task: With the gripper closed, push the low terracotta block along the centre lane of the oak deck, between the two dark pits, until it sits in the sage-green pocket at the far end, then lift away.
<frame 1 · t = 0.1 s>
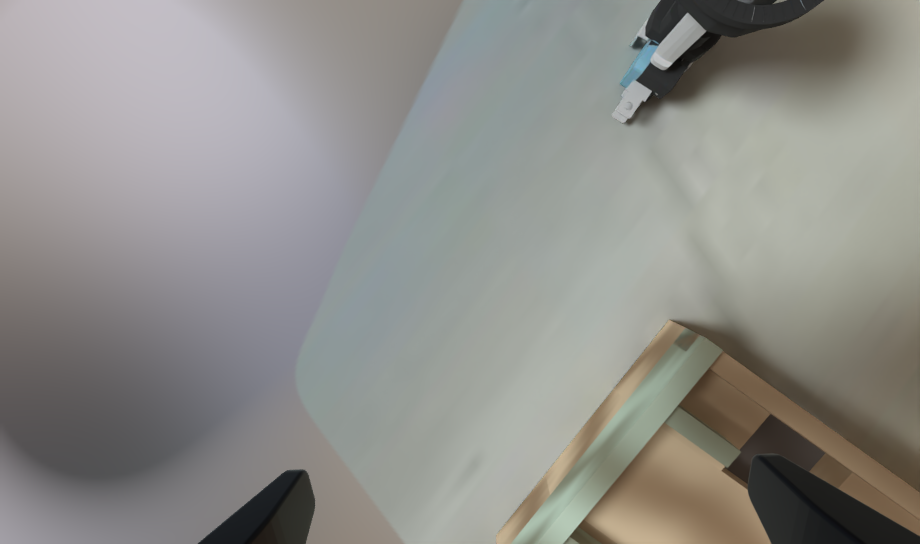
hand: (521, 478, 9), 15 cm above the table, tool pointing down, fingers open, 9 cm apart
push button: (648, 67, 22), on the table
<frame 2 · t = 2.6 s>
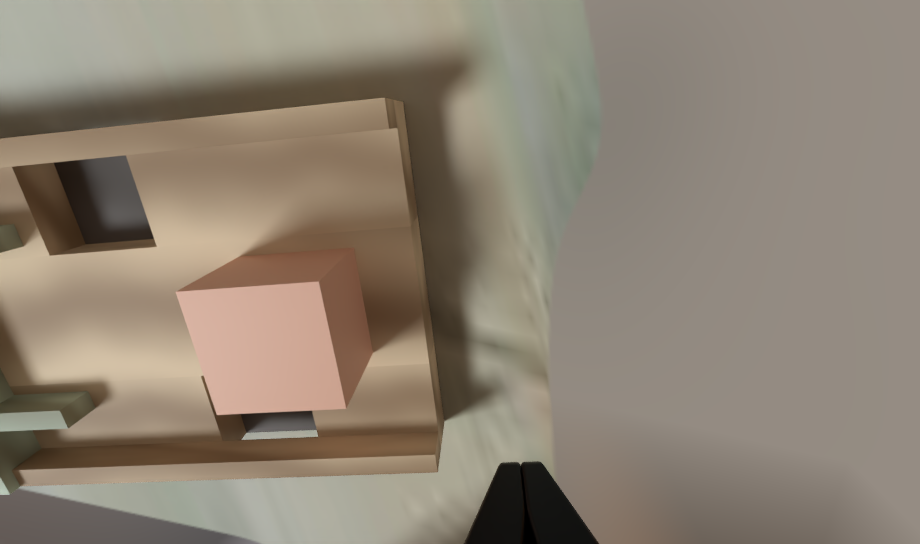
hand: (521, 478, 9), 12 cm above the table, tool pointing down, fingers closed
deck: (207, 297, 21), on the table
block: (308, 306, 19), point 2 cm above the table, touching deck
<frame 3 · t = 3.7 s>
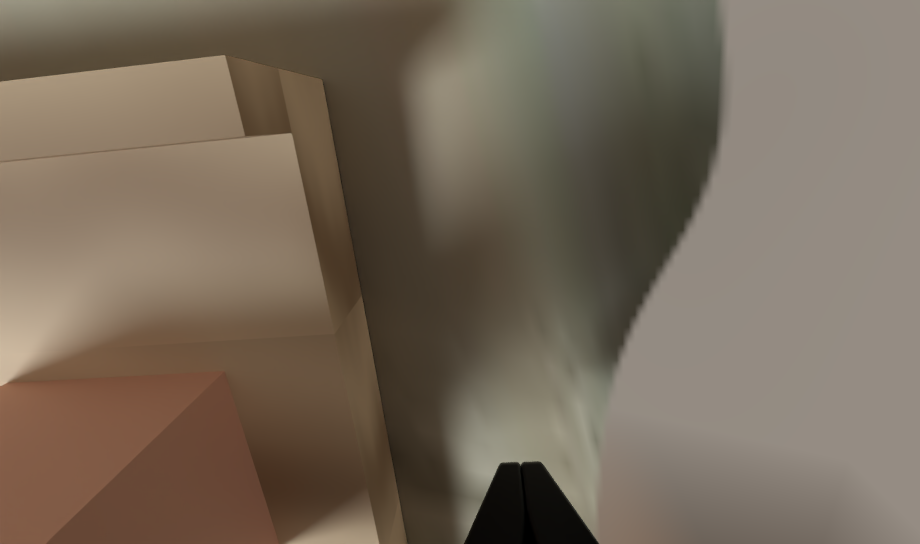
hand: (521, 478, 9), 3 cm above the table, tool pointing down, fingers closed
deck: (7, 423, 12), on the table
block: (151, 469, 10), point 2 cm above the table, touching deck
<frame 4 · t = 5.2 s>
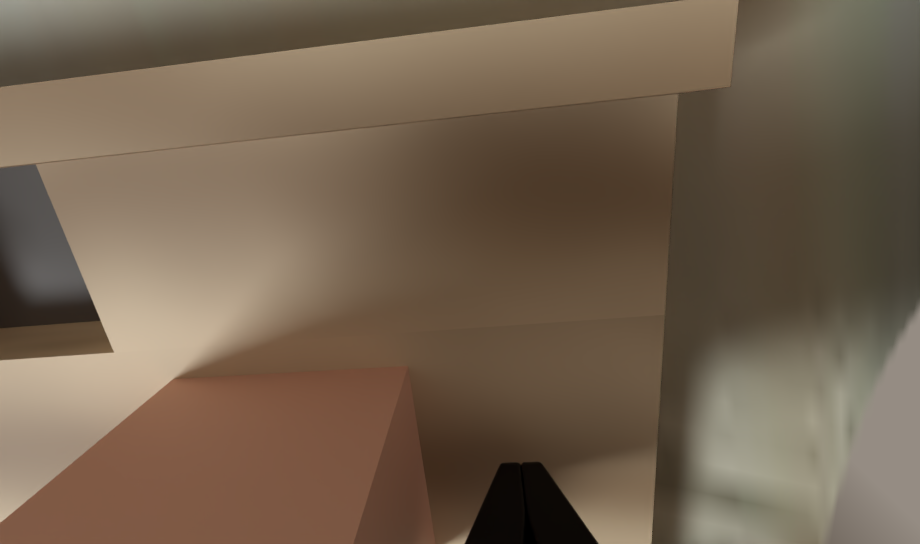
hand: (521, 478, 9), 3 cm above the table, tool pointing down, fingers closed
deck: (215, 417, 12), on the table
block: (313, 468, 10), point 2 cm above the table, touching deck, gripper
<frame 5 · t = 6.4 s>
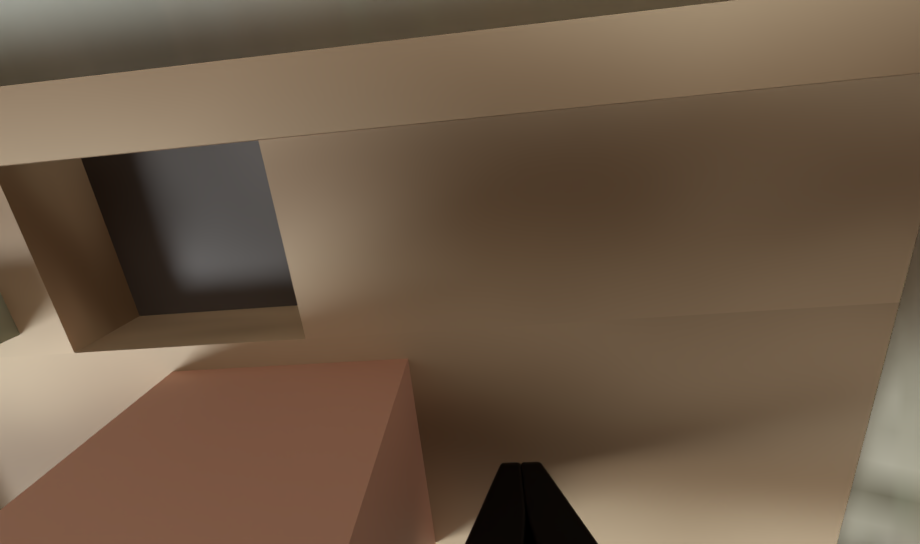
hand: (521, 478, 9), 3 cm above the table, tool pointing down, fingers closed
deck: (360, 409, 11), on the table
block: (312, 462, 10), point 2 cm above the table, touching deck, gripper
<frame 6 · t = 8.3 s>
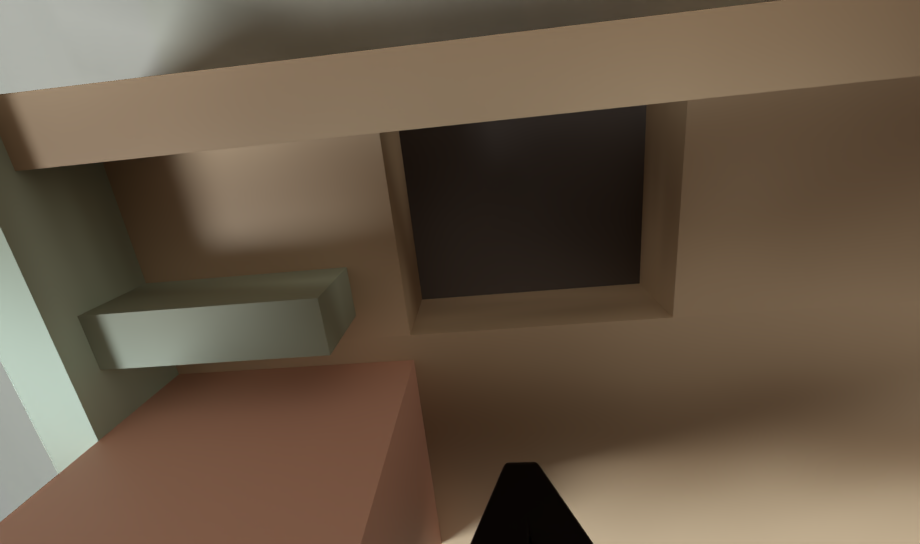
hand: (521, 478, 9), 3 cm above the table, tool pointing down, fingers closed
deck: (632, 397, 11), on the table
block: (318, 464, 10), point 2 cm above the table, touching deck, gripper
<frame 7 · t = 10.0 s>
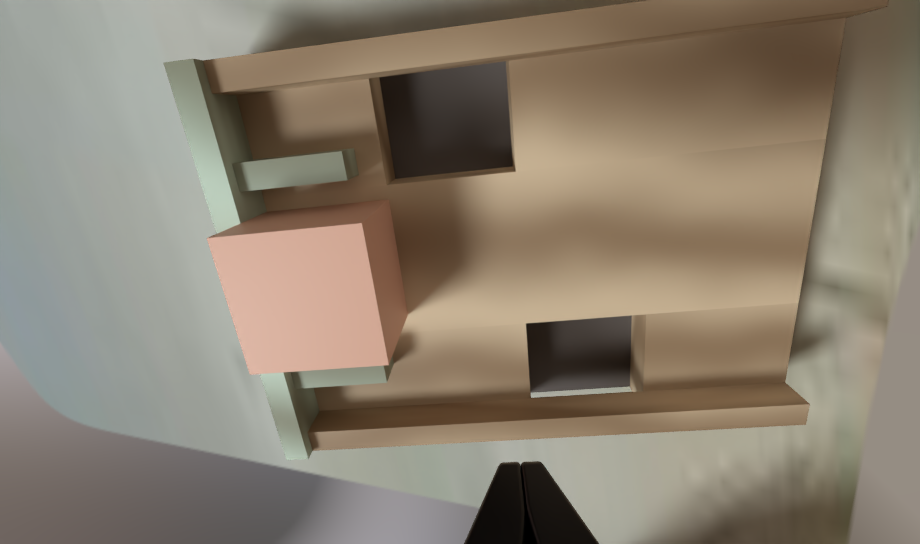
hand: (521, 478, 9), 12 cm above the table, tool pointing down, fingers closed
deck: (517, 238, 19), on the table
block: (339, 264, 18), point 2 cm above the table, touching deck
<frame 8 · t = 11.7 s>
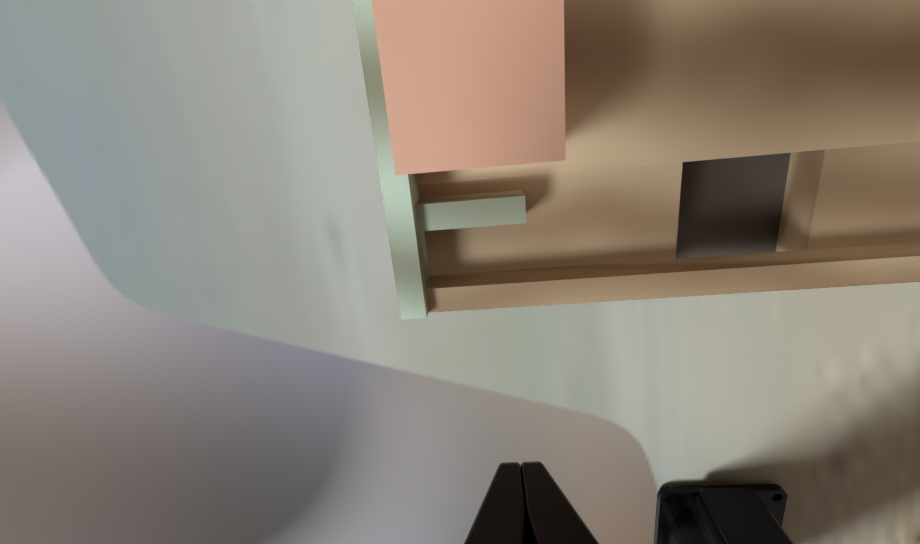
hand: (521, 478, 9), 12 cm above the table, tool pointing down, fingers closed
deck: (666, 74, 17), on the table
block: (475, 86, 16), point 2 cm above the table, touching deck
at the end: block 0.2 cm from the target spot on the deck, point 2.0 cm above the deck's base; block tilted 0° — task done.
